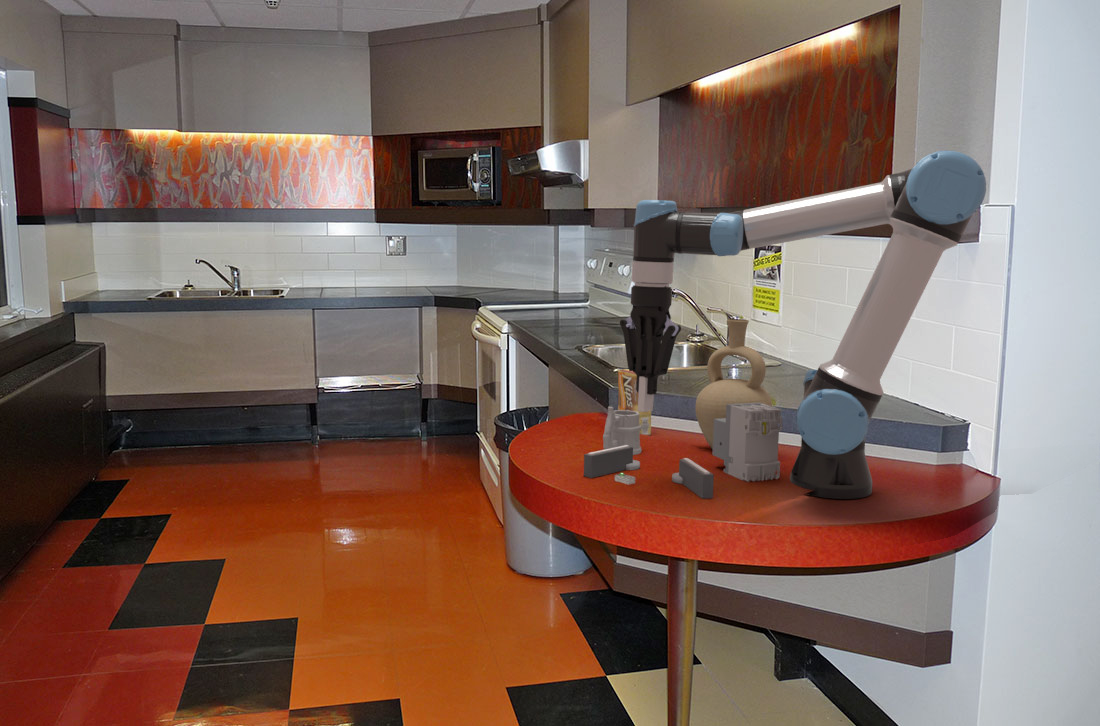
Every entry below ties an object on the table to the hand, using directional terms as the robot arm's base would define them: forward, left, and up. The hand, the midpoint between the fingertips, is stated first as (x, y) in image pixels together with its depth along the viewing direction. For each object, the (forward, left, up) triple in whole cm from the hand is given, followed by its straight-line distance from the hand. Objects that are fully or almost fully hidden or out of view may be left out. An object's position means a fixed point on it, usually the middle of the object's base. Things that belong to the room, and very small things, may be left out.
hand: (645, 410), depth 173 cm
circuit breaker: (-8, -21, -15) cm, 27 cm away
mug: (+19, -14, -15) cm, 29 cm away
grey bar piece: (-9, -4, -14) cm, 17 cm away
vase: (+6, -37, -15) cm, 41 cm away
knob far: (+9, -2, -14) cm, 17 cm away
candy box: (+35, -37, -15) cm, 54 cm away
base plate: (+1, -2, -15) cm, 15 cm away
